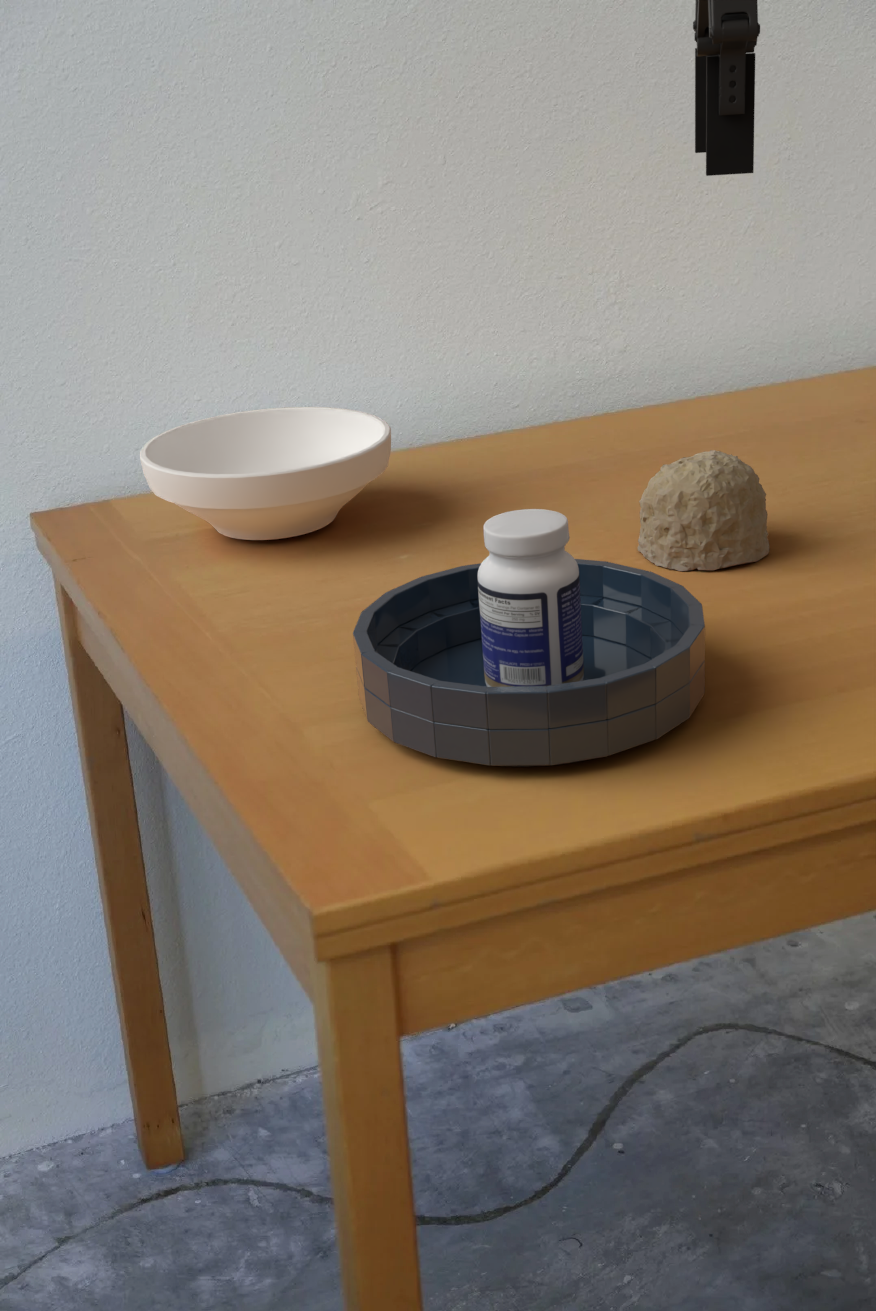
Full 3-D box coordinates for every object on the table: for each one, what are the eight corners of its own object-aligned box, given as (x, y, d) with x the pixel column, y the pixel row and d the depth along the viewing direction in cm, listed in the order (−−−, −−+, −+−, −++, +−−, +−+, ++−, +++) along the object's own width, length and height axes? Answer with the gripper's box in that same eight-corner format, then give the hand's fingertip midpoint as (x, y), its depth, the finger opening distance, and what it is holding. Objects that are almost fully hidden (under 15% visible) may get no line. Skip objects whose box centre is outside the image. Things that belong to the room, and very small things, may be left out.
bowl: (137, 510, 124) (124, 427, 121) (361, 475, 129) (354, 394, 126) (172, 586, 107) (158, 491, 104) (430, 541, 112) (423, 450, 109)
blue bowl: (695, 628, 93) (695, 553, 91) (713, 778, 75) (713, 689, 73) (388, 634, 96) (381, 561, 94) (335, 780, 78) (326, 695, 76)
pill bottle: (549, 656, 89) (543, 498, 85) (603, 689, 84) (599, 523, 80) (466, 681, 86) (455, 518, 82) (516, 716, 82) (507, 546, 78)
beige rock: (638, 610, 107) (632, 529, 98) (639, 503, 112) (634, 417, 103) (769, 608, 105) (775, 525, 97) (765, 500, 110) (770, 412, 102)
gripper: (654, -196, 96) (657, 146, 105) (665, -254, 74) (667, 189, 82) (771, -207, 95) (764, 140, 104) (819, -269, 73) (805, 181, 81)
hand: (722, 162), depth 93 cm, fingers open, 13 cm apart
